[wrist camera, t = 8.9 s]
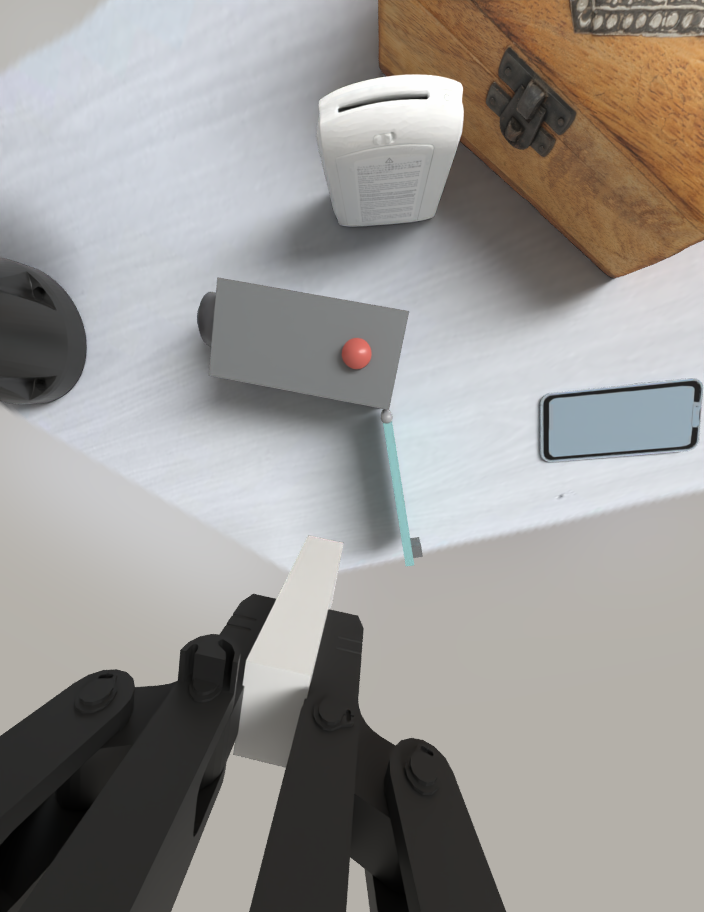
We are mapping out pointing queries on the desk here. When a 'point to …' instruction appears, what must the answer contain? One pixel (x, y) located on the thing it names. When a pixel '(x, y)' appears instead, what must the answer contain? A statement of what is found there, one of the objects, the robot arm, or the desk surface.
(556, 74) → the wooden box
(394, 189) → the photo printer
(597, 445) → the smartphone
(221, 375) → the camera body
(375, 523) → the desk surface
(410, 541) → the side door
